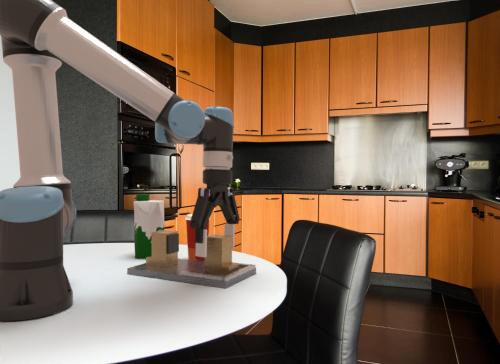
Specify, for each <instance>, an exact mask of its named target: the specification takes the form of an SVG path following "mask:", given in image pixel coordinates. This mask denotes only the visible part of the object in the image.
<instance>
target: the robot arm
mask: <svg viewBox="0 0 500 364" xmlns="http://www.w3.org/2000/svg"><path fill="white" fill-rule="evenodd" d="M0 38H1V49H2V51H1V52H2V60H3V63H4V64H5V65H6V66H7V67H9V69H11V72H12V73H11V74H12V84H13V85H12V87H13V99H14V111H15V122H16V123H15V124H16V135H17V136H16V137H17V148H18V149H17V150H18V162H19V173H20V175H19V176H20V177H19V178H18V180H17V181H16V182H15V183H14V184H13V185H12V186H13V187H10V188H5V189H2V190H0V321H2V322H6V321H7V322H12V321H14V322H15V321H25V320H33V319H39V318H42V317H47V316H51V315H55V314H56V313H60V312H62V311H65V310H67V309H68V308H70V307H71V306H72V305H73V303H74V291H73V288H72V286H71V283H70V280H69V278H68V275H67V272H66V268H65V266H64V237H65V236H67V235H68V233H69V232H70V231H71V230H72V229H73V226H75V221H76V220H77V208H76V205H75V203H74V201H73V195H72V182H71V180H69V178H67V177H66V176H64V171H63V170H64V169H63V157H62V144H61V143H62V142H61V131H60V117H59V106H58V104H59V103H58V93H57V92H58V91H57V80H56V79H57V78H56V72H57V71H58V69H60V68H61V66H62V64H63V62H65V63H66V64H67V65H69V66H70V67H72V68H74V69H75V70H76V71H78V72H79V73H81V74H82V75H84V76H85V77H87V78H88V79H90V80H91V81H93V82H94V83H95V84H98V85H99V86H101V87H102V88H104V89H105V90H107V91H108V92H109V93H111V94H112V95H114V96H116V97H117V98H118V99H120V100H122V101H123V102H125V103H126V104H128V105H129V106H131V107H132V108H134V109H135V110H137V111H138V112H140V113H141V114H142V115H144V116H146V117H148V119H150V120H152V121H153V122H154V124H155V125H154V128H155V129H154V137H155V138H154V139H155V140H156V141H155V142H157V143H161V144H167V145H171V144H175V145H177V144H178V145H197V146H198V145H199V146H202V147H203V153H202V168H204V169H203V170H202V183H203V184H204V185H206V187H199V188H198V190H197V197H196V201H195V205H194V208H193V212H192V213H191V214H192V217H191V221H190V227H191V228H192V229H195V231H196V232H195V238H196V239H195V242H196V253H195V256H199V257H207V230H206V229H205V227H206V225H207V223H208V220H209V221H210V219H211V215H212V213H213V211H214V209H215V208H217V207H219V209H220V210H221V213H222V215H223V217H224V220H225V222H226V223H225V224H224V235H232V250H234V249H235V229H236V228H235V227H236V225H239V223H240V214H239V209H238V205H237V201H236V197H235V187H228V185H229V186H230V185H232V183H233V171H232V169H231V168H233V160H234V155H233V152H234V150H233V147H234V146H233V145H234V140H233V139H234V129H235V128H234V127H235V126H234V113H233V111H232V110H231V108H229V107H224V106H208V107H206V108H205V109H204V110H203V108H202V107H201V105H199V104H198V103H197V102H195V101H193V100H186V99H184V98H182V97H181V96H180V95H178V94H177V93H175V92H173V91H172V90H171V89H169V88H168V87H167V86H165V85H164V84H162V83H160V82H159V81H158V80H157V79H156V78H154V77H153V76H151V75H149V74H148V73H147V72H145V71H143V69H141V68H140V67H138V66H137V65H135V64H134V63H132V62H131V61H129V59H127V58H126V57H124V56H123V55H121V54H120V53H118V52H117V51H115V50H114V49H113V48H112V47H110V46H108V45H107V44H106V43H104V42H103V41H101V40H100V39H98V38H97V37H95V35H93V34H91V33H90V32H89V31H87V30H86V29H84V28H82V27H81V26H80V25H78V24H77V23H76V22H74V21H73V20H72V19H70V18H69V16H68V14H67V10H66V9H65V8H63V7H62V6H60V5H59V4H57V2H55V1H53V0H0ZM62 61H63V62H62ZM209 218H210V219H209ZM195 221H196V222H195Z"/></svg>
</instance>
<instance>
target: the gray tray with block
mask: <svg viewBox="0 0 500 364" xmlns="http://www.w3.org/2000/svg"><path fill="white" fill-rule="evenodd" d="M178 252H180V234H179V232H178V231H177V230H165V229H164V230H162V231H156V232H152V256H149V257H146V259H145V263H141V264H137V265H133V266H130V267H127V268H126V270H127V273H126V274H127V275H133V276H134V275H135V276H140V277H145V278H146V277H147V278H153V279H159V280H166V281H167V280H168V281H174V282H181V283H186V284H187V283H188V284H194V285H202V286H208V287H214V288H215V287H216V288H221V289H227V288H229V287H231V286H233V285H235V284H238V283H240V282H242V281H243V280H246V279H248V278H250V277H252V276H254V275H255V274H257V266H256V264H252V263H251V264H250V263H243V262H238V263H239V270H238V271H235V272H233V273H231V274H229V275H221V274H214V273H206V272H205V261H194V260H189V259H184V258H179V255H178V254H179V253H178ZM232 263H235V262H234V261H232Z"/></svg>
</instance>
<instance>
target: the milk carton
mask: <svg viewBox="0 0 500 364" xmlns="http://www.w3.org/2000/svg"><path fill="white" fill-rule="evenodd" d="M135 198H136V200H134V201H133V211H134V214H133V215H134V216H133V217H134V219H133V221H134V222H133V223H134V225H133V226H134V228H133V229H134V230H133V231H134V235H133V236H134V240H133V241H134V259H138V260H139V259H142V260H143V259H145V260H146V257H149V256H152V232H156V231H162V230H165V200H163V199H162V200H157V199H150V194H149V193H145V194H143V193H140V194H138V193H137V194H136V197H135Z"/></svg>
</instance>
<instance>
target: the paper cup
mask: <svg viewBox="0 0 500 364" xmlns="http://www.w3.org/2000/svg"><path fill="white" fill-rule="evenodd" d="M192 214H193V213H191V214H189V213H188V214H187V215H186V216H185V218H184V220H185V221H186V222H185V224H186V238H187V239H186V243H187V256H188V257H187V258H188V260H194V261H203V262H205V258H204V257H199V256H195V253H196V242H195V239H196V238H195V232H196V231H195V229H192V228H191V227H190V221H191V217H192ZM210 220H211V217H210V218H209V220H208V223H207V225H206V227H205V229H206V230H207V236H209V234H210V232H209V231H210ZM195 222H196V221H195Z"/></svg>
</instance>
